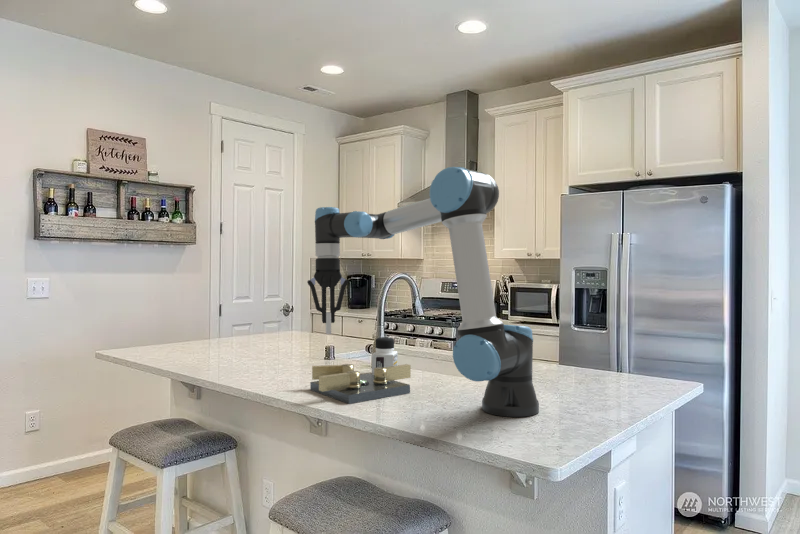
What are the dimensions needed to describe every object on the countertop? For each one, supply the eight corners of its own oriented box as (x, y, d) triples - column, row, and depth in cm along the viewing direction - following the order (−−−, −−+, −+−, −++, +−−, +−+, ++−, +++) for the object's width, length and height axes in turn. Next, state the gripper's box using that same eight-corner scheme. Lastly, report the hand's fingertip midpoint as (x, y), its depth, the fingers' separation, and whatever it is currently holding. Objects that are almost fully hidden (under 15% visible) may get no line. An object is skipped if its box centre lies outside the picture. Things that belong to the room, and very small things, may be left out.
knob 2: (378, 384, 176) (378, 370, 176) (370, 382, 179) (370, 368, 179) (412, 379, 184) (412, 365, 184) (404, 376, 188) (404, 363, 187)
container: (393, 376, 202) (393, 339, 201) (371, 376, 203) (371, 338, 203) (397, 372, 209) (397, 336, 209) (376, 371, 211) (376, 335, 210)
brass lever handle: (353, 377, 187) (353, 363, 187) (355, 379, 183) (355, 366, 183) (312, 378, 185) (312, 365, 185) (312, 381, 180) (312, 367, 180)
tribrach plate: (410, 393, 177) (410, 382, 177) (348, 403, 164) (348, 392, 164) (368, 381, 195) (368, 371, 195) (310, 390, 181) (310, 379, 181)
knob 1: (355, 384, 176) (355, 370, 176) (363, 387, 173) (363, 372, 172) (316, 390, 168) (316, 375, 168) (324, 393, 164) (324, 378, 164)
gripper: (347, 257, 186) (347, 331, 186) (305, 257, 183) (306, 333, 183) (350, 257, 178) (350, 334, 178) (307, 257, 176) (307, 335, 176)
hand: (328, 333), depth 181 cm, fingers closed
